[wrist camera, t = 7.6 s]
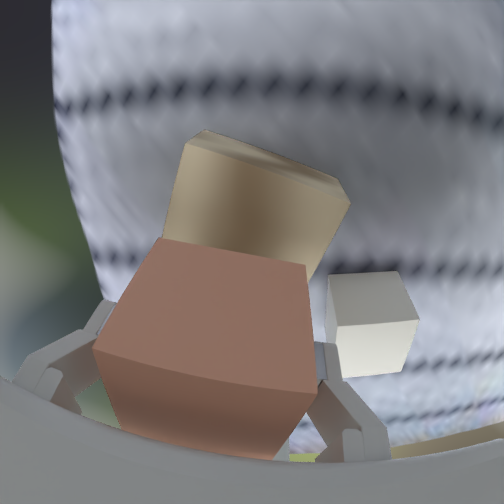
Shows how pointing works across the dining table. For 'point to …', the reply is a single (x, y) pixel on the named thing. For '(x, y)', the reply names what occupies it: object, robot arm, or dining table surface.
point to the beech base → (253, 202)
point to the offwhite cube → (370, 322)
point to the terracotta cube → (211, 350)
